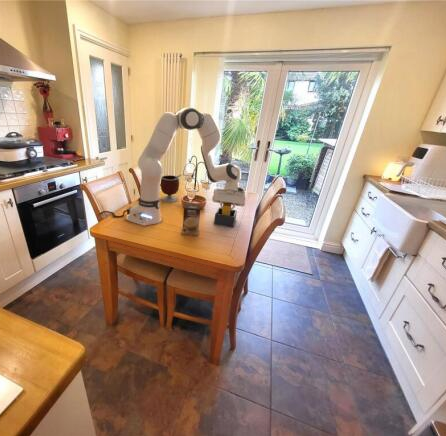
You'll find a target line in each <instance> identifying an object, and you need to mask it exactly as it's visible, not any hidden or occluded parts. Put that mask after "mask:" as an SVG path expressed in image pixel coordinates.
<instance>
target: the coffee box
mask: <svg viewBox="0 0 446 436" xmlns="http://www.w3.org/2000/svg"><path fill="white" fill-rule="evenodd" d="M182 218H183V219H182V231H181V234H182V235H188V236H189V235H190V236H199V231H200V230H199V229H200V218H201V204H191V203H184V205H183V215H182Z"/></svg>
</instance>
